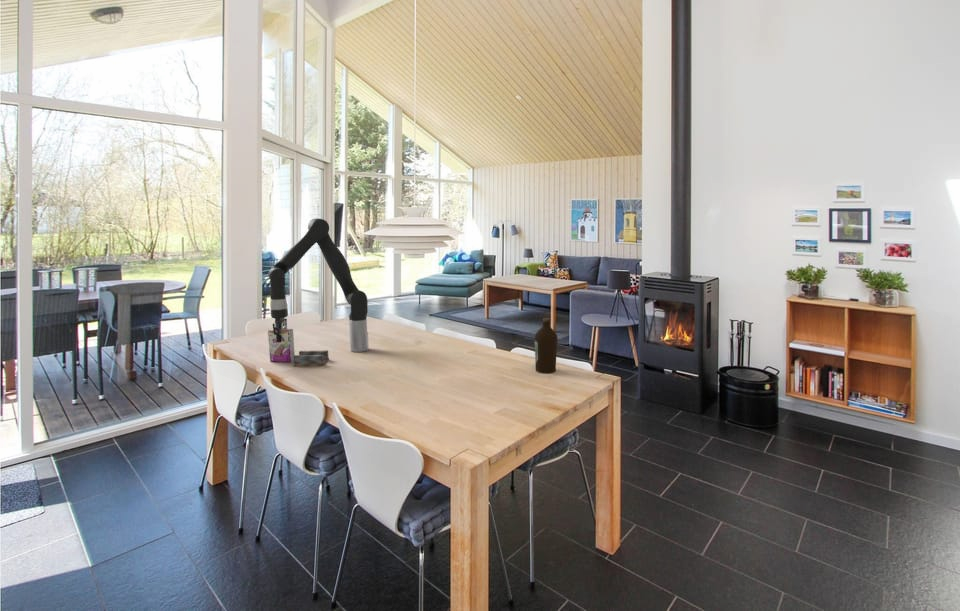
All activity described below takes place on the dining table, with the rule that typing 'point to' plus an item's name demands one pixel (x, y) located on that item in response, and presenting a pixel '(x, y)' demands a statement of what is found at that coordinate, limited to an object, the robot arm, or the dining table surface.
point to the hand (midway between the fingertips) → (281, 340)
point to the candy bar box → (281, 346)
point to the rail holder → (311, 358)
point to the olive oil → (545, 348)
